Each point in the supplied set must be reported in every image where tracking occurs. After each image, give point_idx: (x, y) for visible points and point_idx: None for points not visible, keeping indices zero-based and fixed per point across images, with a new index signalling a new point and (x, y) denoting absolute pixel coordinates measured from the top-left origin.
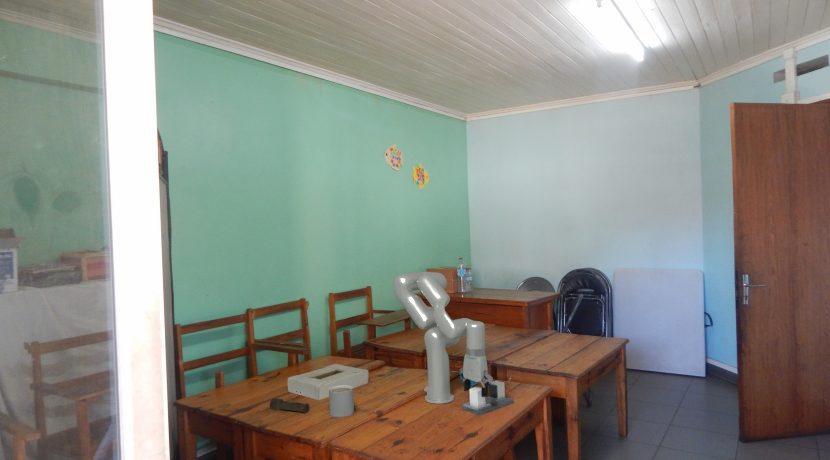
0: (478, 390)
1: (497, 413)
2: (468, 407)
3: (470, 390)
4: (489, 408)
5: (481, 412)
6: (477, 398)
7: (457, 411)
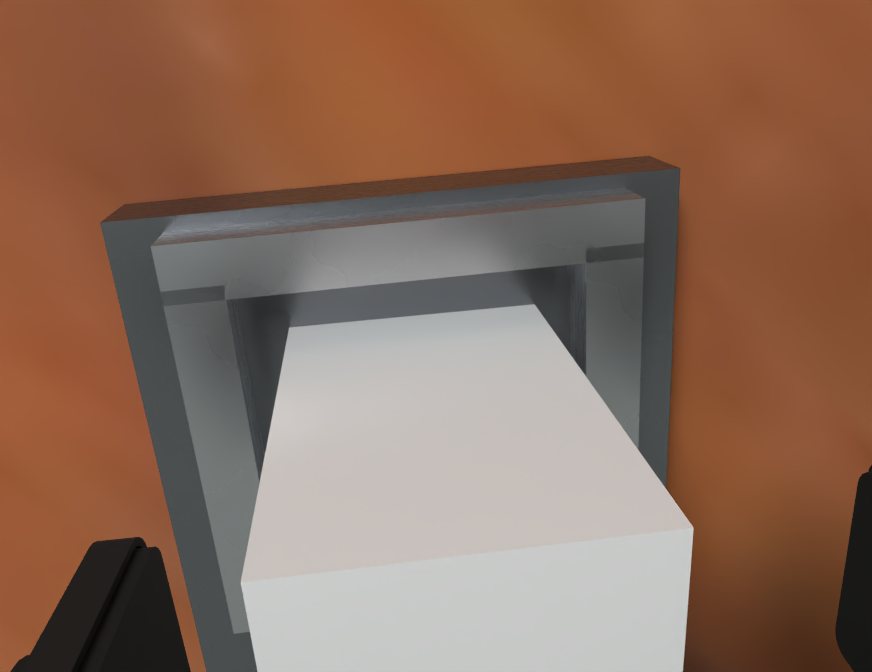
0: (304, 663)
1: (31, 530)
2: (474, 205)
3: (624, 507)
4: (170, 513)
5: (121, 275)
6: (277, 434)
7: (634, 5)
